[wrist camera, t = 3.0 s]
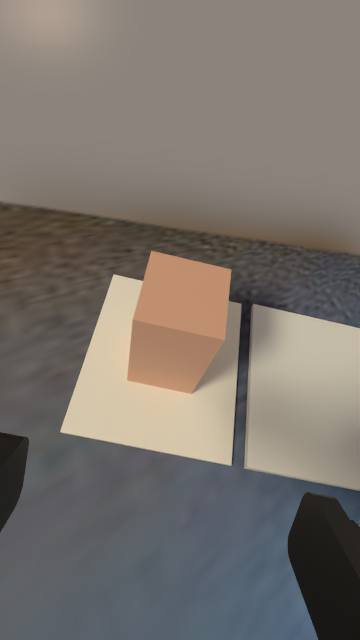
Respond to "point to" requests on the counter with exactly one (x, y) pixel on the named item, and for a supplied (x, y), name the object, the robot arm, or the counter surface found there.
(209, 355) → the block
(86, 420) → the cream tile
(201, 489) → the counter surface
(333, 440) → the beige board
